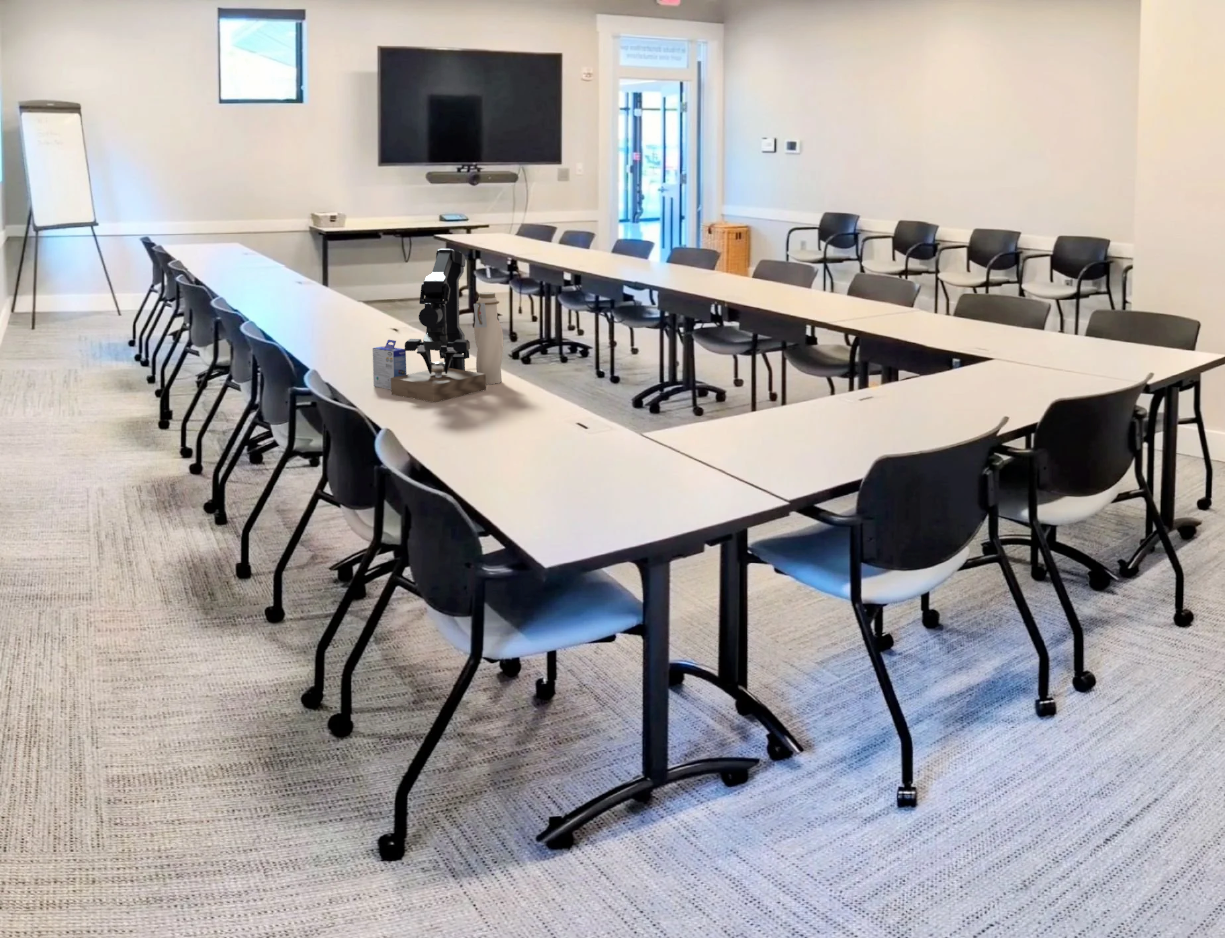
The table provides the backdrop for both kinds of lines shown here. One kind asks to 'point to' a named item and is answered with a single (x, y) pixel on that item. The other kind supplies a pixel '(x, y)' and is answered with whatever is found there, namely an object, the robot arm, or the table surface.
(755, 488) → the table surface
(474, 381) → the press block
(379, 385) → the ink cartridge box
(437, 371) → the plunger
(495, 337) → the water bottle
